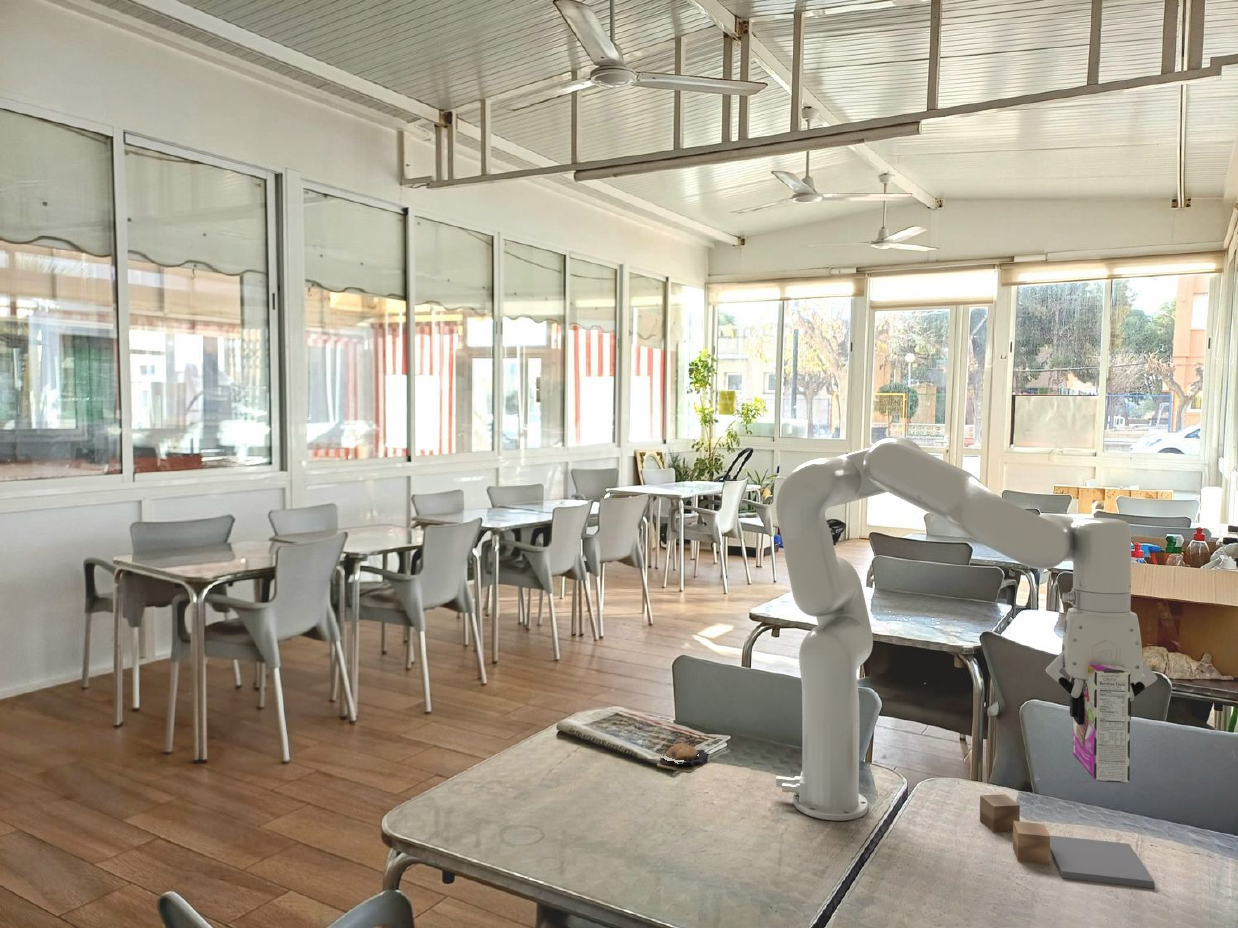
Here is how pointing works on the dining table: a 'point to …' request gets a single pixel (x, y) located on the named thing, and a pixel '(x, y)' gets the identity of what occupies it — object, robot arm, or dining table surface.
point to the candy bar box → (1105, 724)
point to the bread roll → (684, 758)
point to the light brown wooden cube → (1031, 842)
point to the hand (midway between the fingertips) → (1099, 722)
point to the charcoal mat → (1098, 861)
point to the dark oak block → (998, 812)
